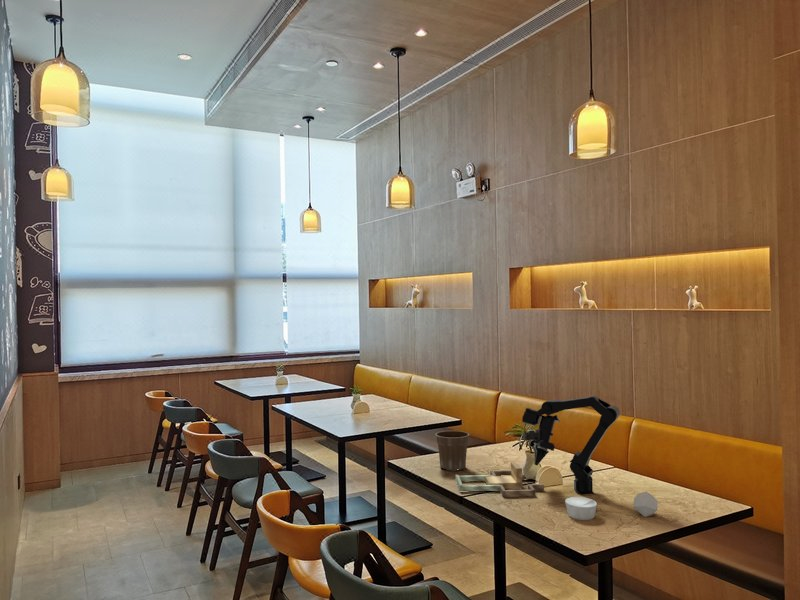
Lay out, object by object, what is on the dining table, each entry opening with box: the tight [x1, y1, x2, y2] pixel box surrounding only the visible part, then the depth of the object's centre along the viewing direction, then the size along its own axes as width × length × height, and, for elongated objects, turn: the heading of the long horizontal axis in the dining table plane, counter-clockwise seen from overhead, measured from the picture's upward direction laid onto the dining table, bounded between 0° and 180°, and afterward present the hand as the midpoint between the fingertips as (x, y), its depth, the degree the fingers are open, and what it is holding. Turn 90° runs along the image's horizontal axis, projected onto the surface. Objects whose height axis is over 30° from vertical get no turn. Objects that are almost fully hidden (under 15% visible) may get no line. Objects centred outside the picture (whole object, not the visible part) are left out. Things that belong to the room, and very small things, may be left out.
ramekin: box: [564, 496, 598, 521], centre depth 220 cm, size 11×11×5 cm
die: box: [632, 491, 659, 518], centre depth 221 cm, size 8×9×10 cm
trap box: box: [455, 469, 545, 498], centre depth 257 cm, size 35×29×3 cm
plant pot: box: [435, 430, 470, 471], centre depth 286 cm, size 16×16×16 cm
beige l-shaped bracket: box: [484, 461, 523, 490], centre depth 257 cm, size 14×10×9 cm
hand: (535, 465), depth 251 cm, fingers closed
